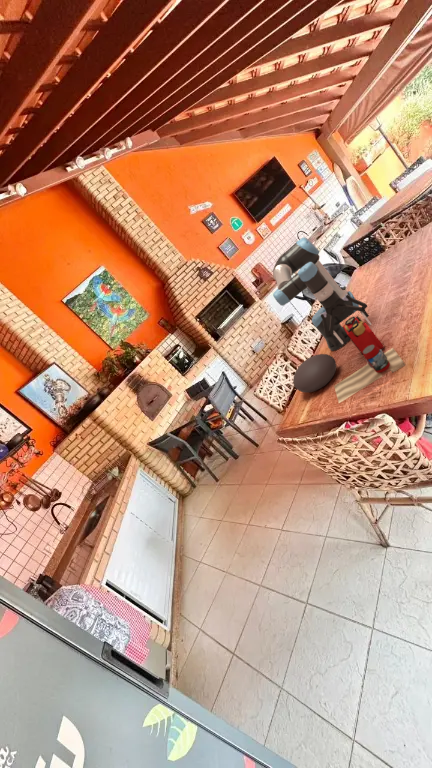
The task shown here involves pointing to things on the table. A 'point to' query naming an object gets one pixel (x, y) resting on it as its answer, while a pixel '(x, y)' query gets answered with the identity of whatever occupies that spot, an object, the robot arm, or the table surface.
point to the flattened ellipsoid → (314, 373)
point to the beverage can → (376, 358)
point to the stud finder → (382, 353)
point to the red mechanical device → (361, 334)
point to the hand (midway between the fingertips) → (356, 333)
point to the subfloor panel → (366, 377)
